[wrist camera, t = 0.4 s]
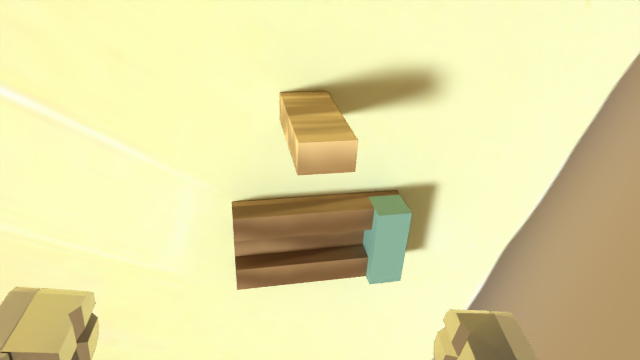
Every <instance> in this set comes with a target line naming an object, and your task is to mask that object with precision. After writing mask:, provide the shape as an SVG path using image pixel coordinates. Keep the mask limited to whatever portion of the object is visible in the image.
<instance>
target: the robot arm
mask: <svg viewBox="0 0 640 360" xmlns="http://www.w3.org/2000/svg"><path fill="white" fill-rule="evenodd" d="M95 304H96V303H95V298H94V293H92V292H88V291H74V290H61V289H48V288H29V287H15V288H14V289H13V290H11V291H10V292H9V293H8V295H7V296H6V298H5V299H4V301H3V302H2V304H1V305H0V360H92V357H93V354H94V352H95V349H96V345H97V340H98V335H99V323H98V317H96V316H95V315H94V314H93V313H92V311H93V308H94V306H95ZM443 321H444V324H445V326H446V327H445V328H443V329H442V330H440V331H439V332H438V333H437V336H436V338H435V341H434V359H435V360H538V359H537V357H536V355H535V353H534V351H533V349H532V348H531V346H530V344H529V342H528V341H527V339H526V337H525V335H524V333H523V331H522V330H521V328H520V326H519V324H518V322H517V321H516V319H515V317H514V316H513V315H512V314H511V313H510V312H497V311H489V312H488V311H478V310H452V309H450V310H449V311H448V312H447V313H446V315H445V317H444V319H443Z"/></svg>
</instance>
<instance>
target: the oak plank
mask: <svg viewBox="0 0 640 360" xmlns="http://www.w3.org/2000/svg"><path fill="white" fill-rule="evenodd" d="M280 122H281V125H282V128H283V131H284V135H285V138H286V141H287V144H288V147H289V150H290V153H291V156H292V159H293V162H294V166H295V169H296V172H297V175H311V174H327V173H344V172H355V168H356V157H357V147H358V139H357V138H356V136H355V134H354V133H353V131H352V130H351V128H350V126H349V125H348V123H347V122H346V120H345V119H344V117H343V115H342V114H341V112H340V111H339V109H338V107H337V106H336V104H335V103H334V101H333V100H332V98H331V96H330V95H329V93H328V92H327V91H319V92H280Z"/></svg>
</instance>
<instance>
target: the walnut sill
mask: <svg viewBox="0 0 640 360" xmlns="http://www.w3.org/2000/svg"><path fill="white" fill-rule="evenodd" d="M232 214H233V230H234V247H235V263H236V279H237V290H239V289H249V288H258V287H267V286H277V285H286V284H295V283H304V282H314V281H323V280H332V279H342V278H351V277H360V276H366V277H367V279H368V282H369V284H375V283H384V282H393V281H400V279H401V273H402V268H403V262H404V256H405V251H406V245H407V239H408V234H409V228H410V222H411V217H412V212H411V211H410V209H409V208H408V206H407V205H406V203H405V202H404V200H403V199H402V197H401V195H400V194H399V192H398V191H397V190H395V191H381V192H366V193H352V194H338V195H324V196H309V197H295V198H281V199H267V200H252V201H238V202H232Z"/></svg>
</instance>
